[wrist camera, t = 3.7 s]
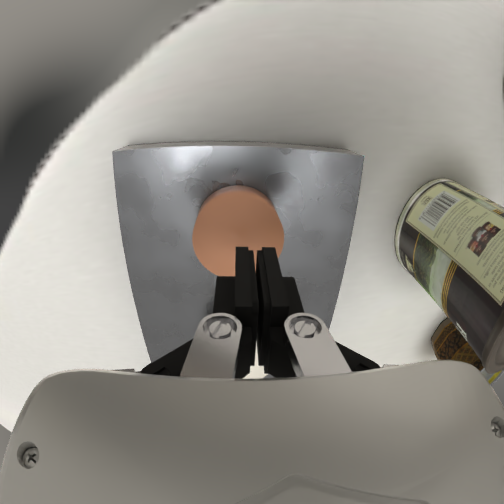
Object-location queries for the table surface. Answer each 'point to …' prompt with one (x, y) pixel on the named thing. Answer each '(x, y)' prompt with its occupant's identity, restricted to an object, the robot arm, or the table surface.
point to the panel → (187, 208)
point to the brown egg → (235, 227)
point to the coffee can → (459, 261)
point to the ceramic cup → (458, 349)
